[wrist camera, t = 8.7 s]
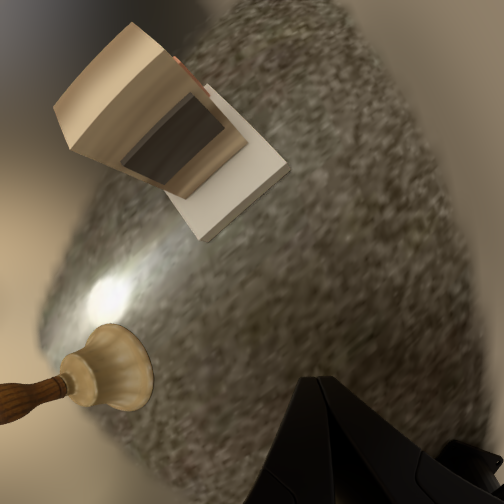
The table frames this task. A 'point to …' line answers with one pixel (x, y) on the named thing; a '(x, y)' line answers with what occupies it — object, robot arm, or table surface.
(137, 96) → the tan tall block
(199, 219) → the base
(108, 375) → the hand bell
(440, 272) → the table surface
